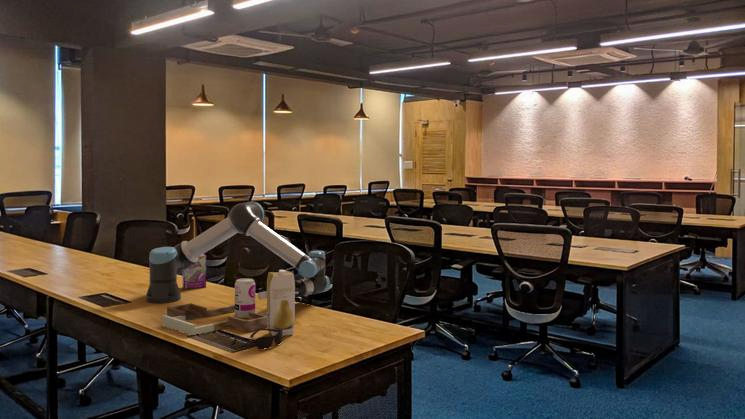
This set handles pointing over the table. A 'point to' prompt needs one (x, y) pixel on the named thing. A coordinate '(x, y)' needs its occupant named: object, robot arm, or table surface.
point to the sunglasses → (264, 339)
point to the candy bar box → (195, 274)
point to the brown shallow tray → (197, 311)
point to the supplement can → (244, 297)
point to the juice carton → (281, 302)
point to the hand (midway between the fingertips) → (259, 296)
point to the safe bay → (185, 325)
